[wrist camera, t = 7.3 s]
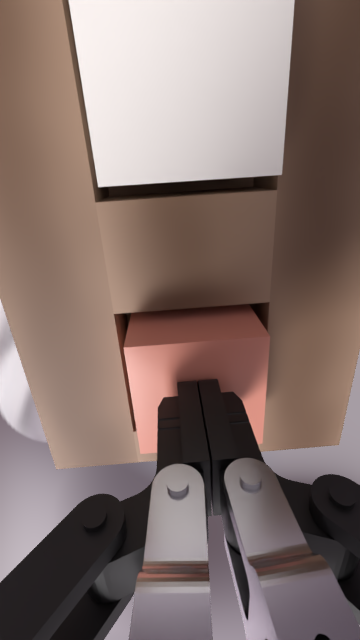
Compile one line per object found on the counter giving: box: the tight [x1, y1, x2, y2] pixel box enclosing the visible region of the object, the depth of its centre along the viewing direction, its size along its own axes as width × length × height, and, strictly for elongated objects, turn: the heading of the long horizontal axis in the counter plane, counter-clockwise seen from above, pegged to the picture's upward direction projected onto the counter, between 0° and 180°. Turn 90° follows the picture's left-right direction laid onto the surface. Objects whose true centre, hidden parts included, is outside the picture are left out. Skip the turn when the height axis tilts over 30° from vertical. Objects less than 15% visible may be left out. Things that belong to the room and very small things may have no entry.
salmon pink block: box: [124, 304, 270, 454], centre depth 13 cm, size 5×5×4 cm
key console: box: [0, 0, 360, 469], centre depth 13 cm, size 14×20×4 cm
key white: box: [69, 0, 295, 187], centre depth 9 cm, size 5×5×4 cm
